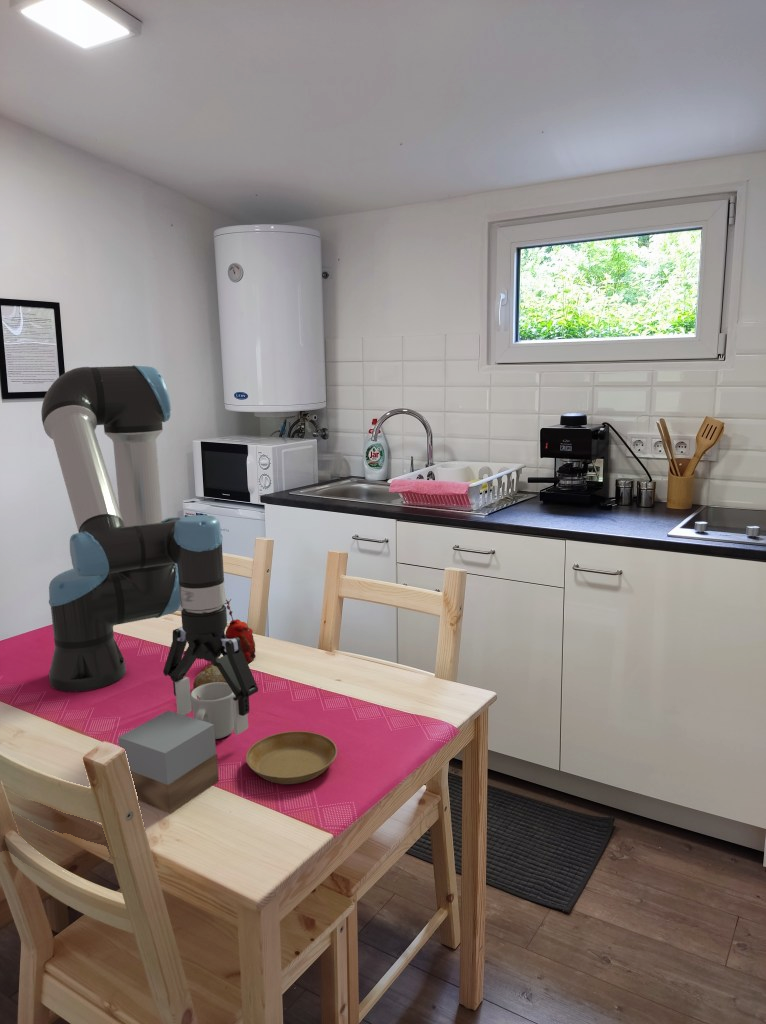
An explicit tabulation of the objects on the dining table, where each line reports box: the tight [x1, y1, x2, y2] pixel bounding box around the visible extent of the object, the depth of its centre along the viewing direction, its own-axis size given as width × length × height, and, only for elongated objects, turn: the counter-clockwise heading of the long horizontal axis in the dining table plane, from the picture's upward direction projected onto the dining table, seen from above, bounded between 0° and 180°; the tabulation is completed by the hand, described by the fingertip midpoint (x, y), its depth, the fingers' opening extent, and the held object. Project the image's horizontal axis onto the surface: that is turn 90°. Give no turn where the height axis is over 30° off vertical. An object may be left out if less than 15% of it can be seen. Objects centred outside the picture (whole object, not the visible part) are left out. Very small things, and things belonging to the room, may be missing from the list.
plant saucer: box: [245, 730, 338, 785], centre depth 121 cm, size 15×15×3 cm
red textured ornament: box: [224, 598, 256, 664], centre depth 164 cm, size 8×7×15 cm
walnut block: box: [131, 753, 220, 815], centre depth 115 cm, size 10×10×5 cm
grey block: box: [117, 710, 217, 785], centre depth 114 cm, size 10×10×5 cm
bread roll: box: [192, 663, 241, 691], centre depth 149 cm, size 10×10×8 cm
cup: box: [190, 682, 235, 740], centre depth 130 cm, size 11×8×8 cm
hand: (212, 722), depth 131 cm, fingers open, 13 cm apart
